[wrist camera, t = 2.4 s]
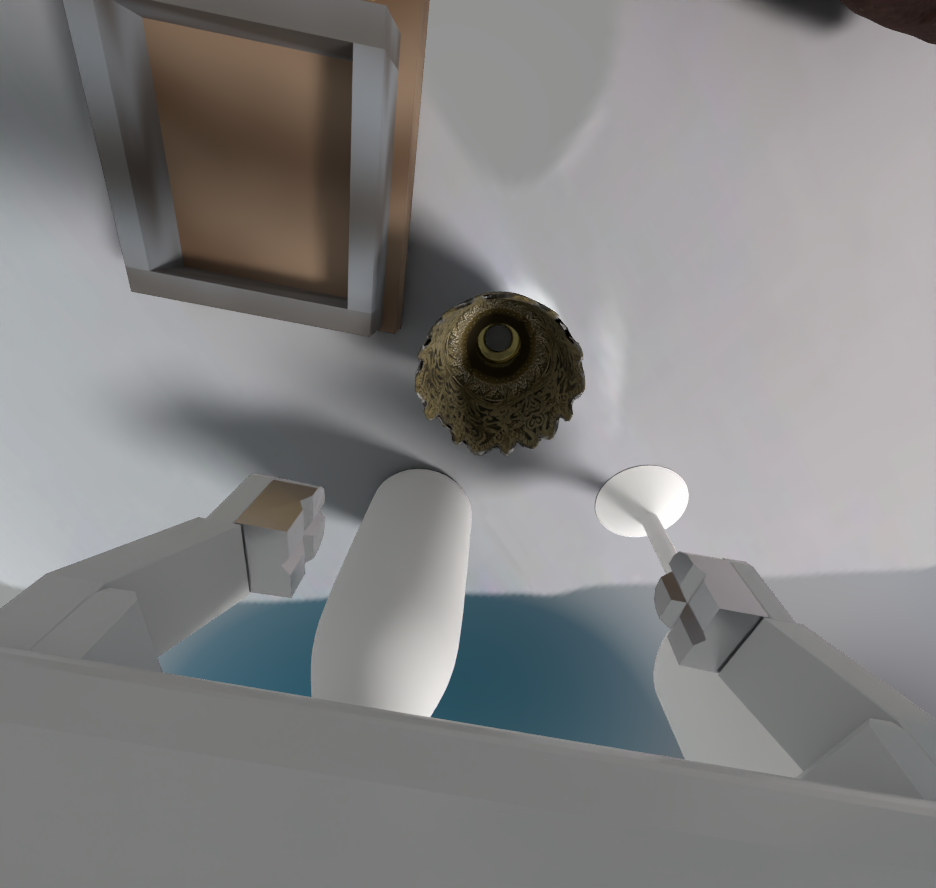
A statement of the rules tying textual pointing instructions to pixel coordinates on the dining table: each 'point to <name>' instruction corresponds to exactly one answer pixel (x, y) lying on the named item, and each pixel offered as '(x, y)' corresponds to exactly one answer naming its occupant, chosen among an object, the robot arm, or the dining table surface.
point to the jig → (259, 149)
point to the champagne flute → (678, 687)
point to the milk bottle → (397, 599)
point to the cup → (499, 373)
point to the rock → (900, 15)
